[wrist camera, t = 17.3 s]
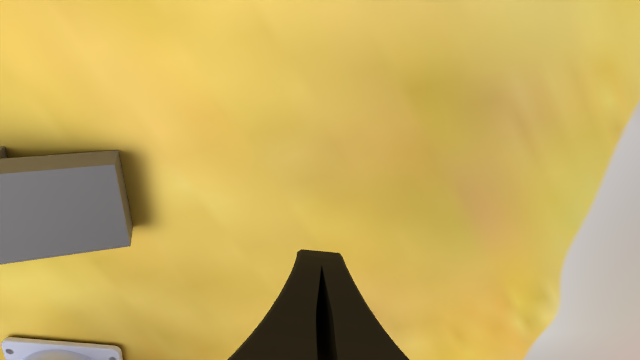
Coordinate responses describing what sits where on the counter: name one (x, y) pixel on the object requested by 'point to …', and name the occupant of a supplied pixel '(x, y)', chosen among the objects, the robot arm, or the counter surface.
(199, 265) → the counter surface
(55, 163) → the domino
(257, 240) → the counter surface
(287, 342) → the robot arm
